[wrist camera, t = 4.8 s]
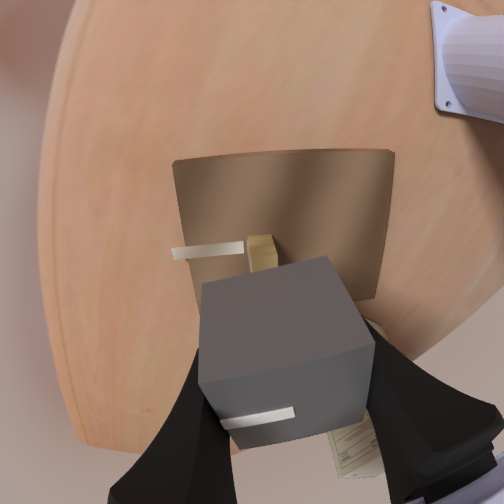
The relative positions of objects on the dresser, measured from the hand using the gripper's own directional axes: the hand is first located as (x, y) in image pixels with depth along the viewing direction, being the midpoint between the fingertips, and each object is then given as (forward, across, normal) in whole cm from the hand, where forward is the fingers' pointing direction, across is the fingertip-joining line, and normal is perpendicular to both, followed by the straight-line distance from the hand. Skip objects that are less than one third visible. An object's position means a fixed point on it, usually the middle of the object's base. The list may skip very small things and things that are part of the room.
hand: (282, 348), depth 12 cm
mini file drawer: (+2, 0, 0) cm, 2 cm away
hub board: (+9, -2, 0) cm, 10 cm away
